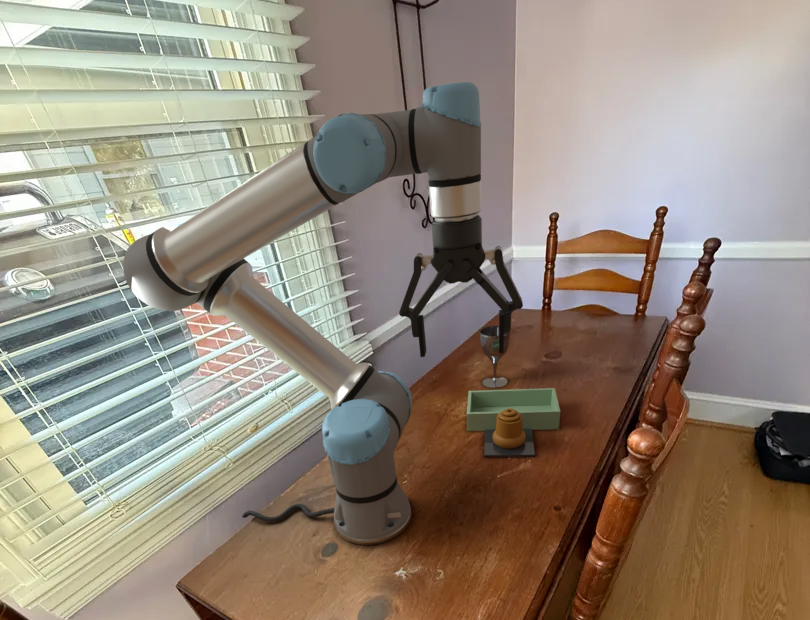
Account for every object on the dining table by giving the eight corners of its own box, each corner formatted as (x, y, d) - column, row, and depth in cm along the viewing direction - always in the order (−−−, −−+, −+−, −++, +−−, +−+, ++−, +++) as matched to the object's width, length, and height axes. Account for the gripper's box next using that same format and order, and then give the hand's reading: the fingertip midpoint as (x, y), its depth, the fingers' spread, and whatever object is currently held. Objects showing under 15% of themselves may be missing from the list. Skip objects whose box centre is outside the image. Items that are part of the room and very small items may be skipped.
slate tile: (484, 457, 107) (484, 455, 106) (485, 431, 115) (484, 429, 115) (534, 456, 105) (535, 454, 104) (531, 430, 113) (531, 428, 113)
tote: (467, 431, 117) (466, 413, 114) (469, 407, 126) (468, 390, 123) (558, 429, 113) (560, 411, 110) (553, 404, 122) (555, 387, 119)
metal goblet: (514, 383, 134) (516, 331, 125) (489, 390, 132) (489, 338, 123) (499, 373, 140) (500, 323, 131) (475, 380, 138) (474, 330, 130)
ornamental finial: (485, 440, 111) (510, 429, 114) (507, 454, 106) (532, 441, 109) (485, 410, 106) (510, 399, 109) (508, 423, 101) (534, 411, 104)
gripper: (540, 204, 72) (533, 340, 84) (379, 220, 76) (395, 347, 89) (544, 212, 66) (536, 357, 78) (370, 229, 70) (388, 364, 83)
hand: (461, 352), depth 83 cm, fingers open, 13 cm apart
